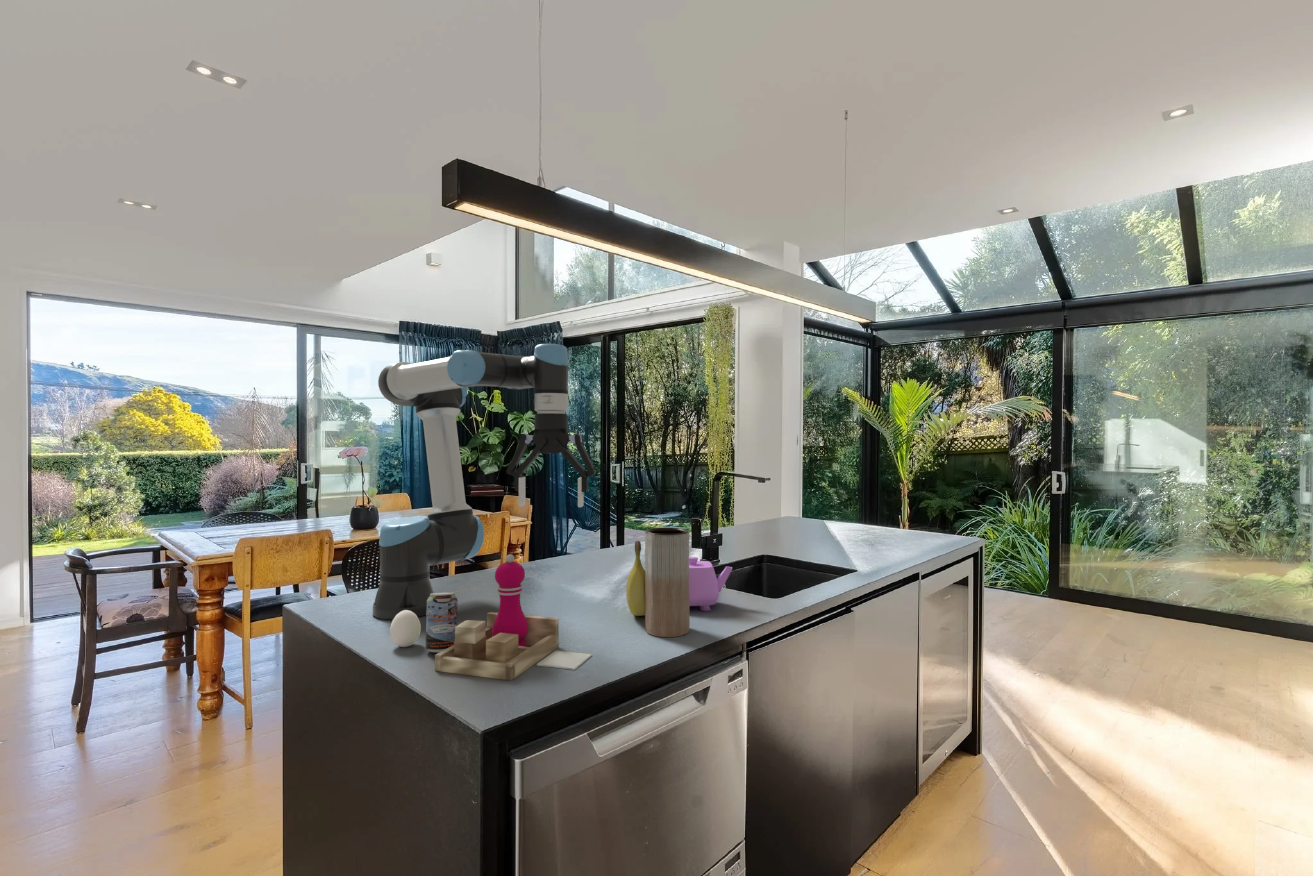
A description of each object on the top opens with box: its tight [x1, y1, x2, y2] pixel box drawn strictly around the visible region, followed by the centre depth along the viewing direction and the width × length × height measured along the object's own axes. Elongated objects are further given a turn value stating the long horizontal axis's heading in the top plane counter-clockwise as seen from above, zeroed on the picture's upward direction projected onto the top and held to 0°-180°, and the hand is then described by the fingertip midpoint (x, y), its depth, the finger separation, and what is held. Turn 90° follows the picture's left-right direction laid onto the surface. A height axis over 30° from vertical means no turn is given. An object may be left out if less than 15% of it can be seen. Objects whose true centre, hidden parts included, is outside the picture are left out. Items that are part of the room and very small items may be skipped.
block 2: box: [454, 636, 487, 661], centre depth 123 cm, size 4×5×5 cm
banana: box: [625, 540, 645, 617], centre depth 156 cm, size 23×6×20 cm, turn 178°
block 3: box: [486, 633, 518, 663], centre depth 121 cm, size 4×5×6 cm
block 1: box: [455, 619, 486, 644], centre depth 123 cm, size 4×5×3 cm
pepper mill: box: [492, 553, 528, 647], centre depth 130 cm, size 7×7×20 cm
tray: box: [434, 611, 560, 681], centre depth 126 cm, size 16×19×6 cm
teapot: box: [689, 556, 733, 612], centre depth 164 cm, size 20×12×13 cm, turn 90°
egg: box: [389, 610, 422, 648], centre depth 134 cm, size 6×6×8 cm
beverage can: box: [424, 591, 458, 653], centre depth 131 cm, size 6×7×12 cm
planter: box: [644, 527, 691, 638], centre depth 143 cm, size 10×10×23 cm
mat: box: [536, 649, 592, 671], centre depth 125 cm, size 8×8×1 cm
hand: (551, 506), depth 144 cm, fingers open, 13 cm apart
